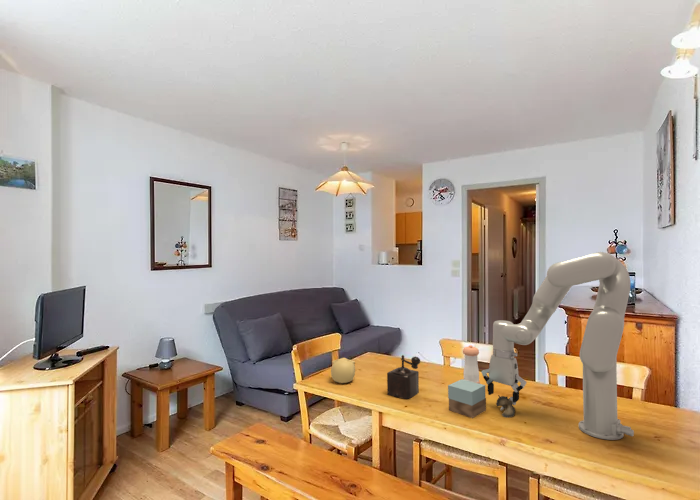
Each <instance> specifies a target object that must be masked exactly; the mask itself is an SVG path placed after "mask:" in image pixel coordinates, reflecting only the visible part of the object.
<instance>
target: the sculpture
mask: <svg viewBox="0 0 700 500" xmlns="http://www.w3.org/2000/svg"><path fill="white" fill-rule="evenodd" d="M331 363H332V366H331V369H330V376H331V378H332V380H333V382H335V383H340V384H345V383H349V382H351V381H353V380H354V378H355V375H356V366H355V363H356V361H355V360H351V359H348V358H346V357H341V358H338V359H334V360H332V361H331Z"/></svg>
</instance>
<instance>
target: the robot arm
mask: <svg viewBox="0 0 700 500" xmlns="http://www.w3.org/2000/svg"><path fill="white" fill-rule="evenodd" d="M546 271H547V272H546V276H545V277H544V280H543V281H542V283H541V284H540V286H539V287H538V288H537V290H536V291H535V293H534V295H533V297H532V304H531V305H530V307H529V309H528V311H527V313H526V314H525V316H524V317H523V318H522V320H521V322H520V323H517V324H516V323H515V324H514V323H513V321H509V320H505V319H504V320H502V319H501V320H500V319H499V320H495V321H493V324H492V354H491V355H490V360H489V367H488V368H486V369H483V370H481V371H480V372H481V374H482V377H483V379H484V381H485V382H486V383H485V384H486V385H487V392H488V393H487V394H488V396H491V395H493V394H494V393H495V392H494V391H495V389H494V387H495V386H494V385H495V383H498V384H502V385H506V386H510V387H511V388H512V390H513V391H512V397H513V402H514V403H515V402H516V403H517V402H518V401H519V400H520V391H522V390H523V389H524V388H525V386H526V385H527V381H526V380H525V379H524V378H522V377H521V376H520V375H519V368H518V361H517V358H516V357H518V353H517V352H515V344H516V345H517V344H518V345H522V346H527V345H530V344H532V342H534V341H535V340H536V339H537V337H539V335H541V334H540V333H541V332H542V331H543V329H544V328H545V326H546V324H548V322H549V320H550V319H551V317H552V315H554V313H555V312H556V311H557V309H559V306H560V305H561V303H562V301H563V300H564V299H565V297H566V296H567V294H568V293H569V291H570V290H571V288H572V287H573V286H578V285H583V284H587V283H591V282H595V281H598V283H599V285H598V289H597V294H596V297H595V302H594V306H593V309H592V311H591V312H590V314H589V316H588V318H587V322H586V325H585V330H584V333H583V337H582V342H581V346H580V349H579V359H580V361H581V363H582V399H583V402H582V403H583V405H582V406H583V411H582V412H583V420H580V421H579V422H578V429H579V430H580V431H581V432H583V434H586V435H589V436H590V437H594V438H597V439H601V440H608V441H614V440H615V441H616V440H620V439H623V437H624V436H625V435H627V436H630V437H634V435H635V431H634V429H632V427H631V426H629V425H623V424H622V423H621V419H618V389H617V388H618V383H617V382H618V381H617V379H618V377H617V374H618V372H617V359H618V358H617V356H618V352H619V348H620V345H621V340H622V336H623V333H624V330H625V329H624V328H625V316H626V315H625V314H626V311H627V310H626V309H627V306H628V302H629V301H628V300H629V297H630V293H631V283H632V282H631V277H630V273H629V271H628V269H627V267H626V266H625V265H624V264H623V263H622V262H621V260H619V259H618V258H617V257H615V256H613V255H612V254H610V253H609V252H604V251H600V252H599V251H598V252H597V251H596V252H593V253H590V254H586V255H584V256H580V257H576V258H571V259H568V260H564V261H559V262H555V263H553V264H551V265H550V266H549V267H548V269H547V270H546ZM487 373H488V374H487ZM518 383H520V384H518Z"/></svg>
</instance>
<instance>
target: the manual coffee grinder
mask: <svg viewBox="0 0 700 500" xmlns="http://www.w3.org/2000/svg"><path fill="white" fill-rule="evenodd" d="M400 357H401V358H400V361H401V366H400V367H396V368H394V369H393V370H390V371H388V372H387V373H386V375H387V376H386V381H387V382H386V384H387V386H386V387H387V389H386V390H387V392H386V393H387V396H391V397H395V398H398V399H399V398H400V399H404V400H409V399H411V398H414V397H415V396H417V395H418V394H419V392H420V389H419V385H420V384H419V374H420V373H419V370H417V369H418V368H419V367H418V366H419V365H420V364H421V359H420V357H418V356H412V357H411V359H410V360H411V361H408V360H407V359H405V355H404V354H402V355H401V356H400ZM405 363H406V364H409V365H410V366H411V368H412V369H410V368H408V367H406V366H405Z"/></svg>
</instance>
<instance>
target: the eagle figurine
mask: <svg viewBox="0 0 700 500" xmlns="http://www.w3.org/2000/svg"><path fill="white" fill-rule="evenodd" d="M497 396H498V398H497V400H496V402H495V405H496V407H500V408H499V409H500V410H499V411H500V412H501V411H503V410H504V411H503V412H502V414H501V416H502V417H504V418H506V419H507V418H512V417H514V416H515V413H516V407H514V406H516V405H517V402H515V403H514V402H513V396H510V397H508V396H505V395H501V396H500V394H498V395H497Z"/></svg>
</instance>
